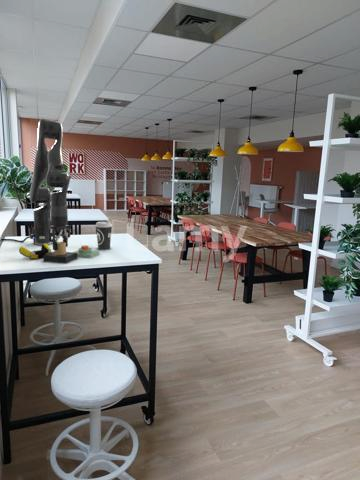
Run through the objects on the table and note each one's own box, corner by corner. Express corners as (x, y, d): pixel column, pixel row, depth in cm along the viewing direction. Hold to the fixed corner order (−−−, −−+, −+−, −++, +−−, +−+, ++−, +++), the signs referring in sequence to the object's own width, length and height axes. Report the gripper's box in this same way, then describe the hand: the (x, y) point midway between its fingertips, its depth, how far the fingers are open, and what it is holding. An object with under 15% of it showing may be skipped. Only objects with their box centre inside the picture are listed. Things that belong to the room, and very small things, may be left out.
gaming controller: (17, 257, 167) (27, 261, 161) (17, 246, 166) (27, 249, 160) (46, 252, 179) (56, 256, 173) (45, 242, 178) (56, 245, 172)
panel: (43, 261, 162) (43, 254, 161) (55, 256, 171) (55, 250, 171) (66, 263, 159) (65, 256, 158) (77, 258, 169) (77, 252, 168)
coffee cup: (108, 250, 188) (108, 224, 185) (92, 249, 189) (92, 223, 187) (115, 247, 197) (115, 221, 194) (99, 246, 199) (99, 221, 196)
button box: (71, 256, 173) (70, 249, 172) (80, 252, 182) (79, 246, 181) (90, 258, 171) (90, 251, 170) (98, 254, 179) (98, 247, 179)
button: (80, 249, 174) (80, 246, 174) (83, 248, 178) (83, 245, 177) (86, 250, 174) (86, 246, 173) (89, 248, 177) (89, 245, 177)
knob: (52, 254, 163) (52, 242, 162) (58, 252, 168) (58, 240, 167) (62, 255, 161) (61, 243, 160) (68, 253, 166) (67, 241, 165)
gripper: (60, 213, 169) (61, 245, 172) (43, 216, 155) (44, 250, 158) (74, 214, 167) (75, 246, 170) (57, 217, 153) (59, 252, 156)
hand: (60, 248), depth 164 cm, fingers open, 8 cm apart
